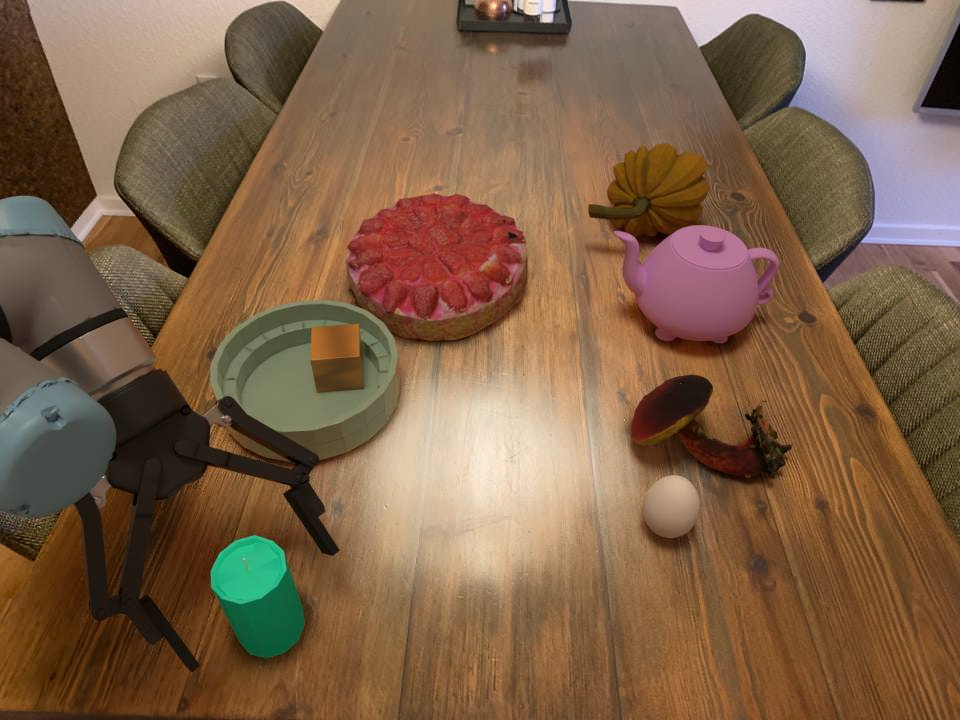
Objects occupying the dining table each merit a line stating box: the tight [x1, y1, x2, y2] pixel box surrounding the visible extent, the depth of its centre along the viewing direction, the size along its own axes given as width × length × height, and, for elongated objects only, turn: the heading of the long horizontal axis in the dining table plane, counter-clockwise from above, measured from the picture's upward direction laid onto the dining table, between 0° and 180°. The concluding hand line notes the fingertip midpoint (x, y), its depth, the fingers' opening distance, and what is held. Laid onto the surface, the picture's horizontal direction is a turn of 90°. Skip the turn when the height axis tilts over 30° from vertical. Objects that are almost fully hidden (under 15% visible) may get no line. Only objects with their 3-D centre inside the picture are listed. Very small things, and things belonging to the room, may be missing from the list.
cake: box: [345, 192, 529, 342], centre depth 97 cm, size 25×25×8 cm
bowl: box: [209, 299, 402, 463], centre depth 82 cm, size 21×21×6 cm
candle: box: [210, 534, 306, 659], centre depth 60 cm, size 6×6×12 cm
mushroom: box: [630, 373, 793, 480], centre depth 78 cm, size 12×12×15 cm
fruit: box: [587, 142, 710, 238], centre depth 105 cm, size 14×16×20 cm
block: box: [310, 324, 364, 393], centre depth 83 cm, size 6×6×6 cm
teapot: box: [613, 224, 780, 344], centre depth 91 cm, size 22×16×14 cm
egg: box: [641, 474, 701, 539], centre depth 70 cm, size 5×5×8 cm
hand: (266, 605), depth 59 cm, fingers open, 13 cm apart
